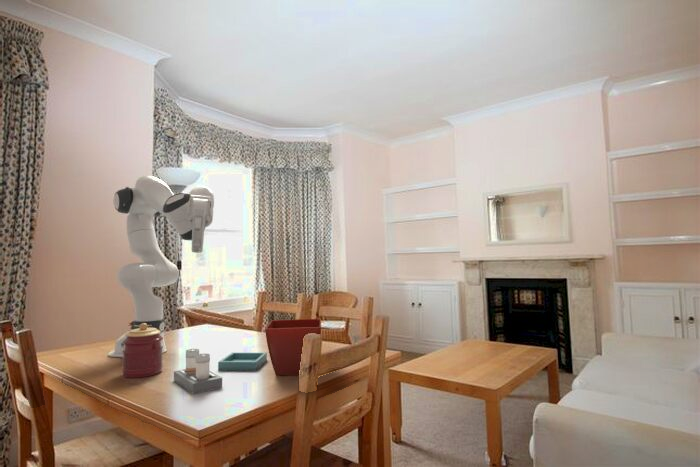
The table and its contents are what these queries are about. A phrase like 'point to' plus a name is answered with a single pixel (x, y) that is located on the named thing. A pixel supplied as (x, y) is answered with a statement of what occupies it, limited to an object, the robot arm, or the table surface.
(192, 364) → the grey capped cylinder
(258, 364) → the tray
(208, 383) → the fuse block
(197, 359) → the fuse
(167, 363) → the table surface
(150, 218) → the robot arm
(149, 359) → the canister
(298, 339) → the plant pot
